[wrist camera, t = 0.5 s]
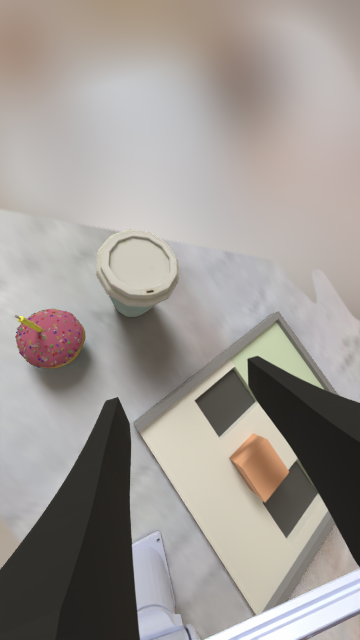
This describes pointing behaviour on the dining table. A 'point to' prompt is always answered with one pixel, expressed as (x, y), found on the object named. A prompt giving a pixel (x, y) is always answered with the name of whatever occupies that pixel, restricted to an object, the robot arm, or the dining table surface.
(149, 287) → the disposable coffee cup
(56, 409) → the dining table surface
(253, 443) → the block
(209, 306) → the dining table surface
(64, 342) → the cupcake
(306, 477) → the sectioned serving tray
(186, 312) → the dining table surface
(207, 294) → the dining table surface
